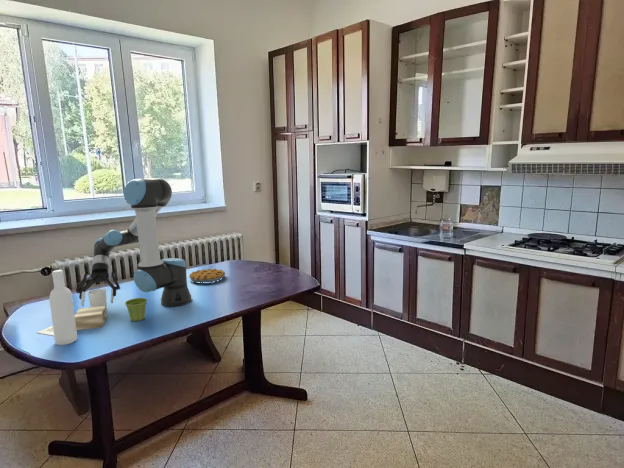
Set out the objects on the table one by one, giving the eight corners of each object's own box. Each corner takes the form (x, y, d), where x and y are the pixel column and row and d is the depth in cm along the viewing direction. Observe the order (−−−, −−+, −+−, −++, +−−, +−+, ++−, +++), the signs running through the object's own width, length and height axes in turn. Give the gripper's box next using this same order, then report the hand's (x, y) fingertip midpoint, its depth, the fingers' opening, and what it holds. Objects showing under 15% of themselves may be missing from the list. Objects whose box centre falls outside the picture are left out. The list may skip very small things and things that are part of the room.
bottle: (50, 343, 159) (40, 272, 154) (68, 335, 166) (59, 267, 161) (64, 346, 156) (55, 274, 151) (82, 338, 164) (73, 269, 158)
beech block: (80, 320, 182) (79, 308, 181) (107, 317, 185) (105, 305, 184) (74, 330, 172) (72, 317, 170) (102, 327, 175) (100, 314, 174)
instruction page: (76, 328, 174) (75, 327, 174) (57, 336, 165) (57, 335, 165) (55, 324, 178) (55, 324, 177) (36, 332, 169) (36, 332, 169)
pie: (220, 285, 234) (220, 277, 233) (184, 285, 234) (183, 277, 233) (228, 274, 255) (228, 267, 254) (195, 274, 255) (195, 267, 254)
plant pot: (134, 324, 177) (133, 306, 176) (122, 320, 182) (120, 302, 181) (152, 317, 185) (151, 300, 183) (140, 313, 190) (138, 296, 188)
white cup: (111, 308, 197) (109, 289, 195) (98, 314, 189) (96, 294, 187) (99, 306, 199) (97, 288, 197) (86, 312, 192) (84, 293, 190)
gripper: (127, 267, 209) (125, 304, 198) (75, 271, 202) (71, 309, 191) (125, 260, 203) (123, 297, 192) (71, 263, 196) (66, 302, 185)
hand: (97, 303), depth 191 cm, fingers open, 12 cm apart
